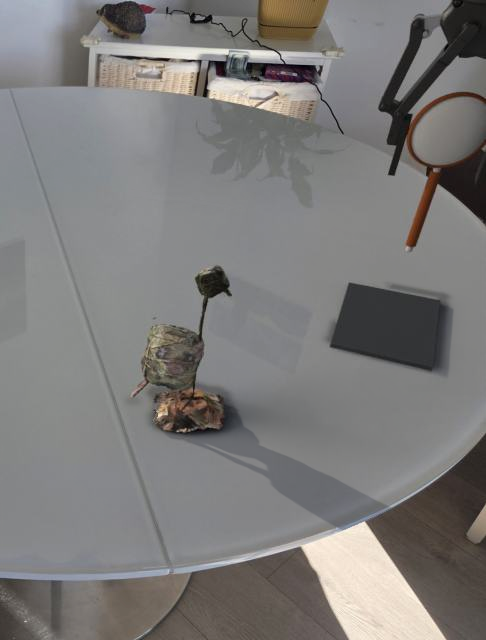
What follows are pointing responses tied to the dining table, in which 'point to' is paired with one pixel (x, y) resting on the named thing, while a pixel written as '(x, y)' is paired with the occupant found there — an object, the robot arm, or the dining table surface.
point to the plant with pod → (183, 367)
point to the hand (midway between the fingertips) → (434, 176)
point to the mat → (388, 325)
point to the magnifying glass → (444, 143)
